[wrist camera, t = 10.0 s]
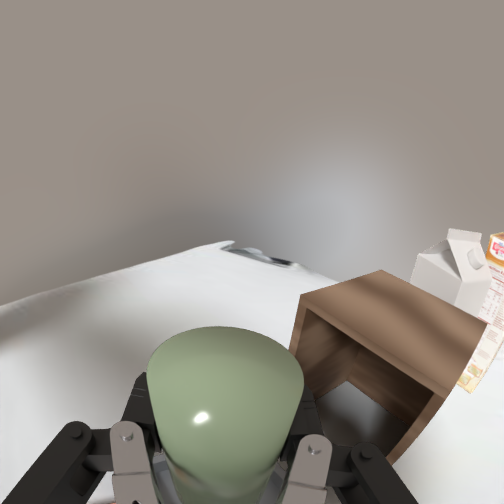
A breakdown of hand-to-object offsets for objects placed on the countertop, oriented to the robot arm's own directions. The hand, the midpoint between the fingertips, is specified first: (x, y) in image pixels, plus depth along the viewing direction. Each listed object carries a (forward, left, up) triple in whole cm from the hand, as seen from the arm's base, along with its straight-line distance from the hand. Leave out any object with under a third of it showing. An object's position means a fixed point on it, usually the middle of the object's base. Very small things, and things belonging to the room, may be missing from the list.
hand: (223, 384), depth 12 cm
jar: (0, -3, -6) cm, 7 cm away
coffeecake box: (+36, +13, -13) cm, 41 cm away
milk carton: (+24, +13, -13) cm, 30 cm away
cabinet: (+13, +6, -13) cm, 19 cm away
